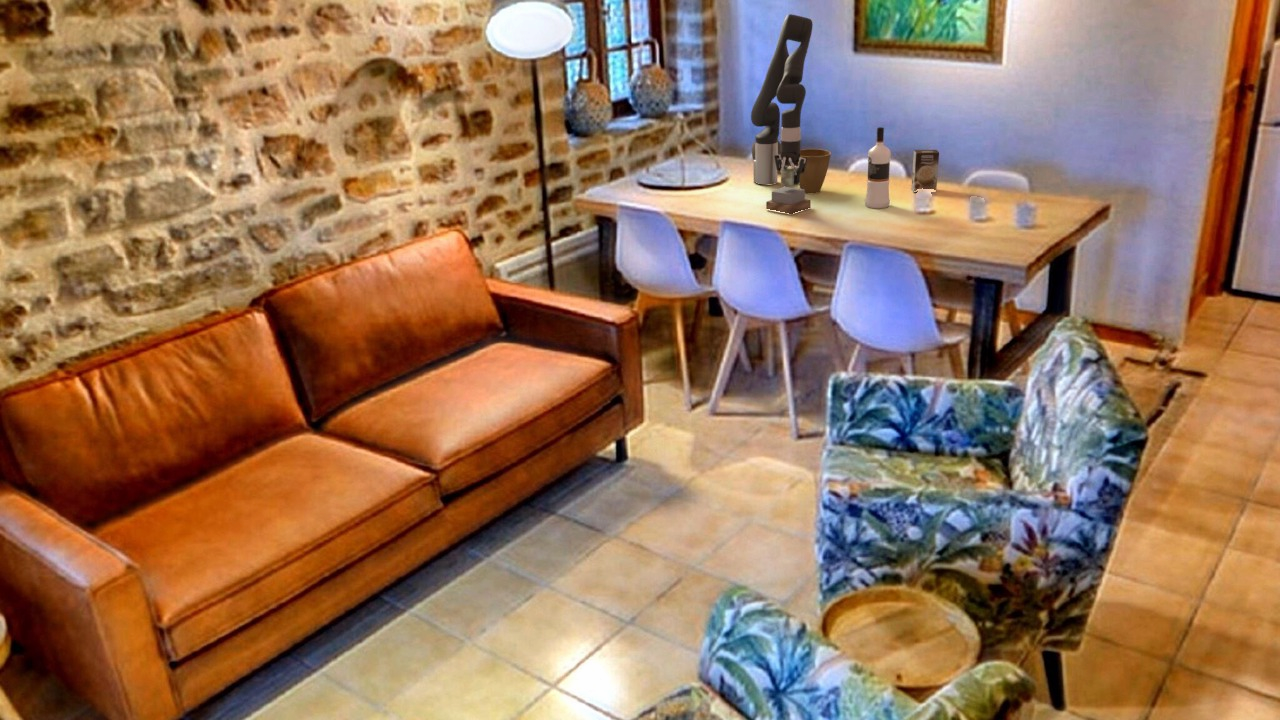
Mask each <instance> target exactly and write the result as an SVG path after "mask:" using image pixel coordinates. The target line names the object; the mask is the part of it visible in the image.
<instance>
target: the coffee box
mask: <svg viewBox="0 0 1280 720" xmlns="http://www.w3.org/2000/svg"><path fill="white" fill-rule="evenodd" d="M912 158H913V159H912V160H913V161H912V175H911V185H910V186H911V188H910V189H911V191H912V193H913V192H914V191H916V190H917V189H922V188H923V189H934V190H936V191H937V189H938V188H937V186H938V172H939V161H940V152H939V150H937V149H914V151H913V157H912Z"/></svg>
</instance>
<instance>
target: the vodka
mask: <svg viewBox="0 0 1280 720" xmlns="http://www.w3.org/2000/svg"><path fill="white" fill-rule="evenodd" d="M884 133H885V128H884V127H883V126H878V127H877V128H876V142H875V145H874V146H873V147H871V148H870V149H869V150H868V152H867V156H868V159H867V180H866V182H867V183H866V195H865V199H864V205H865V206H866V207H867V208H868V209H877V210H878V209H879V210H880V209H885V208H887V207H889V206H890V203H891V202H890V201H891V198H890V192H889V191H890V168H891V167H890V166H891V156H892V155H891V154H892V152H891V150H890V149H889V148H888V147H887V146H886V145H884V138H885V137H884Z"/></svg>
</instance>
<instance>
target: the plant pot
mask: <svg viewBox="0 0 1280 720" xmlns="http://www.w3.org/2000/svg"><path fill="white" fill-rule="evenodd" d="M831 155H832V153H831V151H829V150H826V149H821V148H820V149H819V148H805V149H804V148H803V149H801V150H800V156H801V157H802V158H807V162H806V167H805V171H804V173H802V174H800V185H798V186H799V189H805V194H808V193H813V194H819V193H820V191H821V190H822V187H823V184H824V183H825V179H826V176H827V173H828V169H829V165H830V164H829V163H830V160H831ZM798 162H799V161H798ZM799 165H800V163H799ZM795 167H796V165H795ZM818 192H819V193H818Z"/></svg>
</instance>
